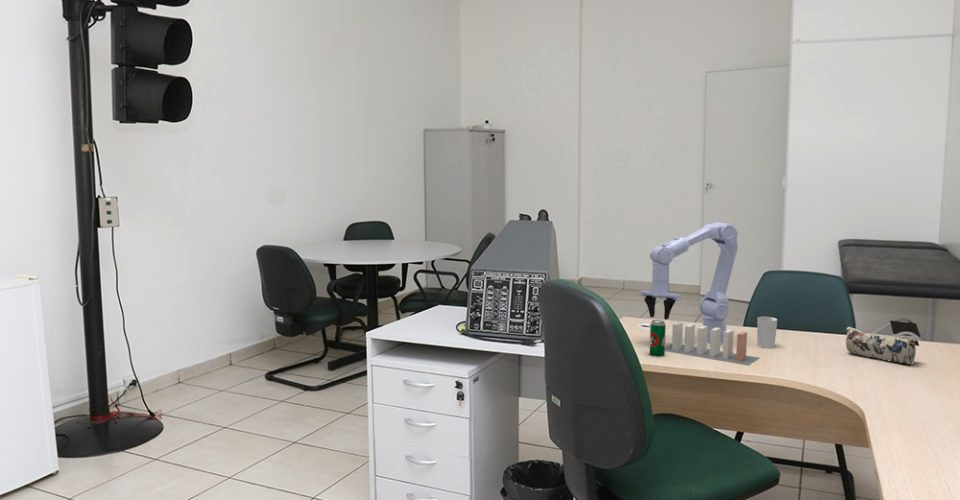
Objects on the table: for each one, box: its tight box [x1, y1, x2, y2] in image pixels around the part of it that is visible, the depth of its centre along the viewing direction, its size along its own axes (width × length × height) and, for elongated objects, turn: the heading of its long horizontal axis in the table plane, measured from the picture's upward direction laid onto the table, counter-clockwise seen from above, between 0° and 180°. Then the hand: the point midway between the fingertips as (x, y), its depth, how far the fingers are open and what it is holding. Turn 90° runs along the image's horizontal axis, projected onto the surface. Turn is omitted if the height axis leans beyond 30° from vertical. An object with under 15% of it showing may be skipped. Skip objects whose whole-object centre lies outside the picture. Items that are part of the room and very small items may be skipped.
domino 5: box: [722, 328, 735, 359], centre depth 245 cm, size 2×5×9 cm, turn 141°
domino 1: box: [671, 321, 684, 350], centre depth 256 cm, size 2×5×9 cm, turn 142°
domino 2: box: [683, 323, 696, 352], centre depth 254 cm, size 2×5×9 cm, turn 142°
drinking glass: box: [756, 316, 778, 349], centre depth 262 cm, size 7×7×10 cm
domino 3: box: [696, 325, 708, 354], centre depth 251 cm, size 2×5×9 cm, turn 141°
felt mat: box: [665, 343, 761, 366], centre depth 250 cm, size 12×31×1 cm, turn 52°
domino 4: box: [709, 327, 721, 357], centre depth 248 cm, size 2×5×9 cm, turn 141°
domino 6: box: [735, 330, 748, 361], centre depth 242 cm, size 2×5×9 cm, turn 141°
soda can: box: [649, 319, 666, 357], centre depth 248 cm, size 5×5×12 cm
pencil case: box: [845, 326, 920, 365], centre depth 245 cm, size 22×8×10 cm, turn 39°
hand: (659, 317), depth 260 cm, fingers open, 5 cm apart
